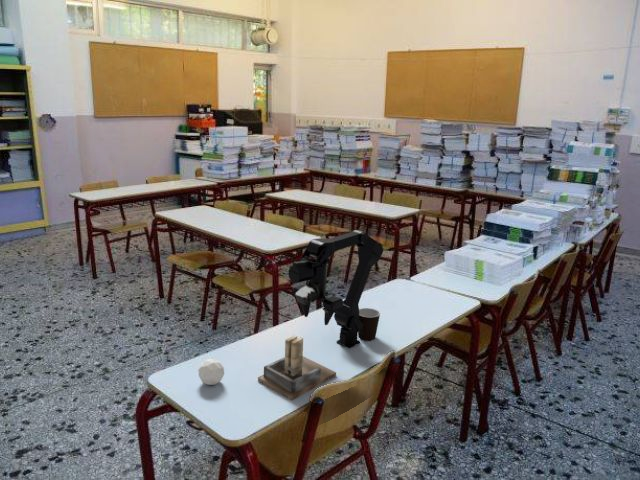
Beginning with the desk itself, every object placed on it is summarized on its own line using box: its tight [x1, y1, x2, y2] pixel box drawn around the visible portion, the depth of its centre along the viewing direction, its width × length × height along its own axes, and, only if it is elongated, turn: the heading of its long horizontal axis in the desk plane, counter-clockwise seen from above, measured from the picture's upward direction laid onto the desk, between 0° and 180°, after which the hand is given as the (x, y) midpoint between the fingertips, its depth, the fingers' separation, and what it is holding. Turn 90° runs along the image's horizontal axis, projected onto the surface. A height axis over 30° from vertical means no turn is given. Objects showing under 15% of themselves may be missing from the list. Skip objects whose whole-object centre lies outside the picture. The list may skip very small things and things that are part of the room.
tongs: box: [284, 334, 304, 380], centre depth 159 cm, size 5×4×13 cm
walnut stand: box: [257, 355, 337, 401], centre depth 162 cm, size 20×15×5 cm
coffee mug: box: [357, 307, 381, 342], centre depth 193 cm, size 12×9×10 cm
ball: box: [197, 358, 225, 386], centre depth 157 cm, size 8×8×8 cm
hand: (316, 320), depth 174 cm, fingers open, 9 cm apart
